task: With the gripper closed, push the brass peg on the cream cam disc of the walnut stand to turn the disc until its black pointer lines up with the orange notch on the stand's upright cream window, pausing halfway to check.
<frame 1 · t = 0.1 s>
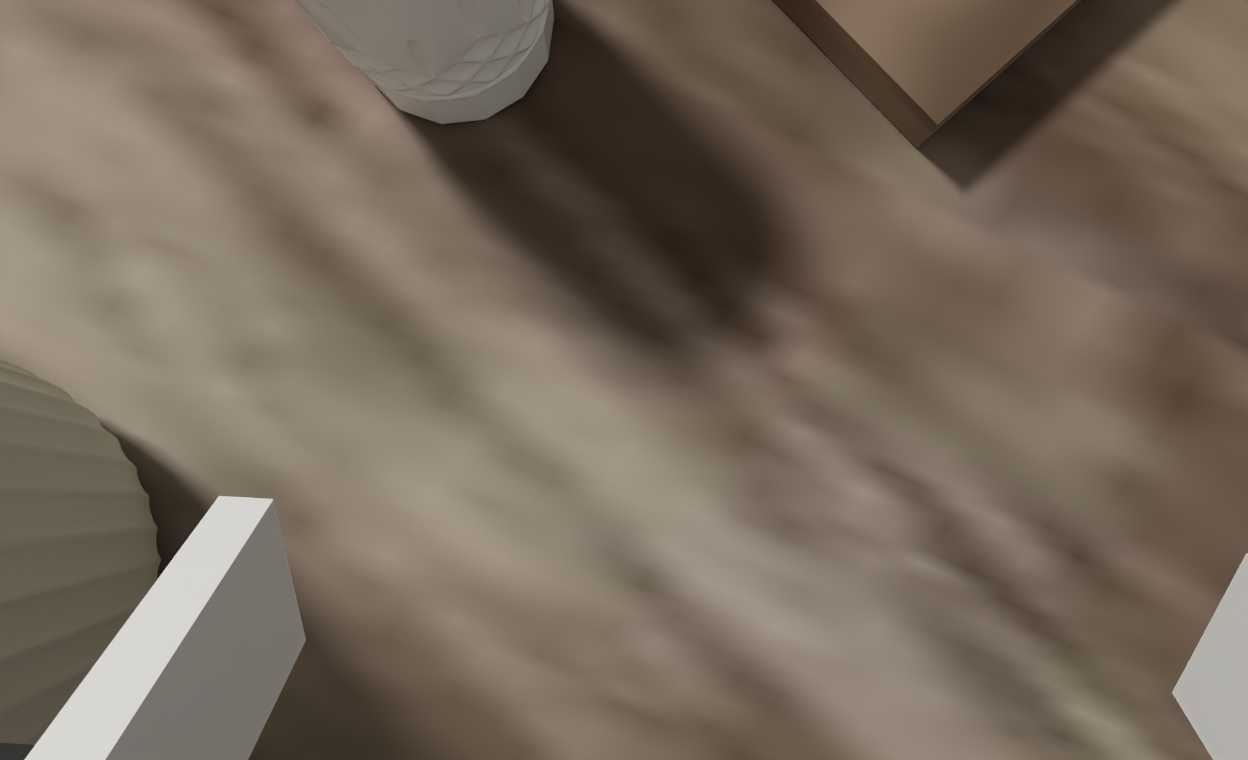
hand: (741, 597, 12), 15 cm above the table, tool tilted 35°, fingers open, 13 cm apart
white cup: (457, 34, 29), on the table
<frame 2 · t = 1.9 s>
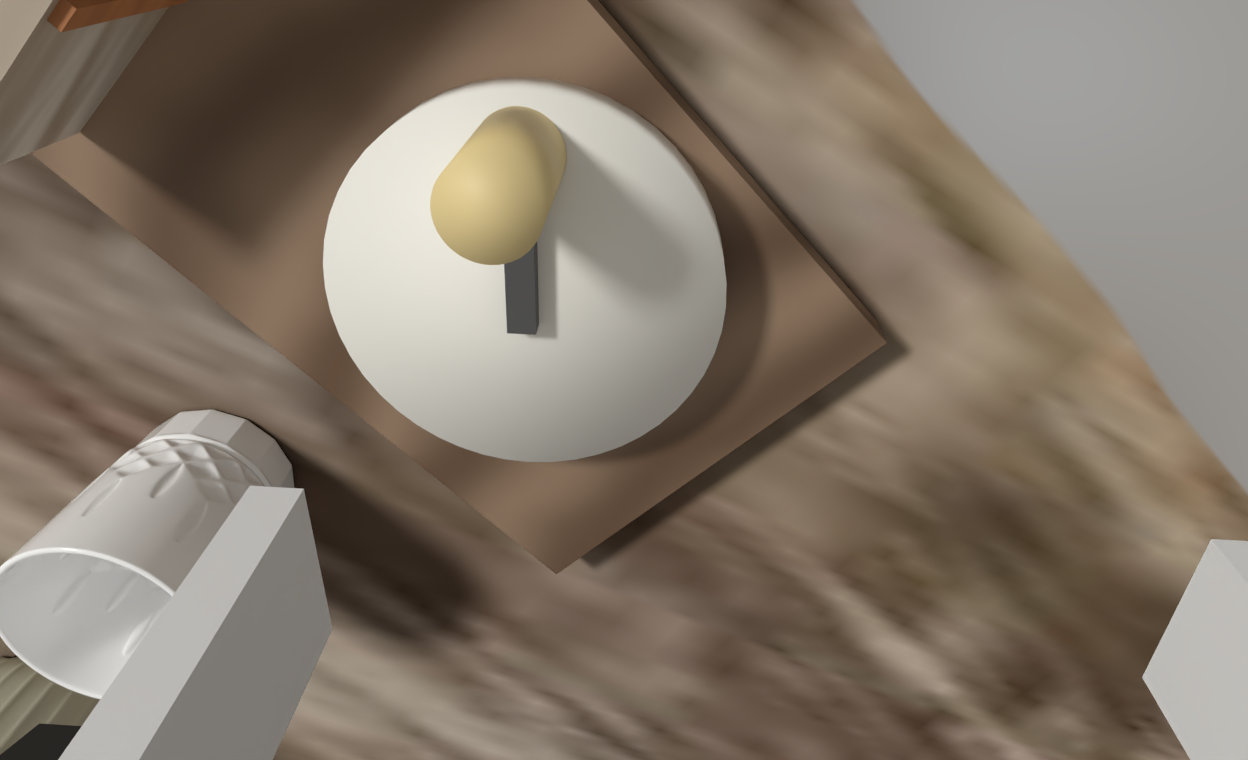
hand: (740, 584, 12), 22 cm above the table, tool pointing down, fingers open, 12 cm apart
white cup: (226, 466, 40), on the table
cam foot: (516, 320, 28), point 6 cm above the table, hinge at -45.0°
stand: (541, 287, 34), on the table
canister: (56, 717, 50), on the table
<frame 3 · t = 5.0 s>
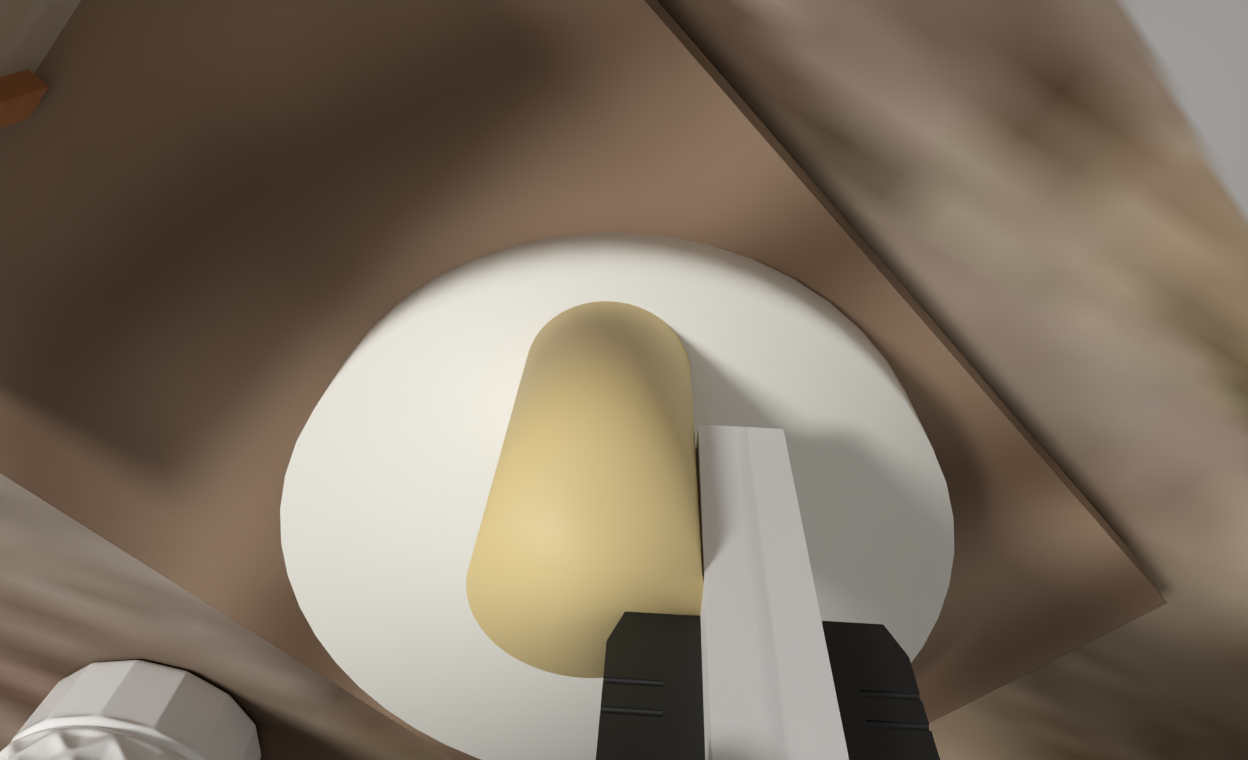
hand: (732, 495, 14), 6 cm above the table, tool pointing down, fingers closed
white cup: (162, 722, 28), on the table
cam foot: (609, 644, 16), point 6 cm above the table, hinge at -43.1°, touching gripper
stand: (622, 506, 22), on the table
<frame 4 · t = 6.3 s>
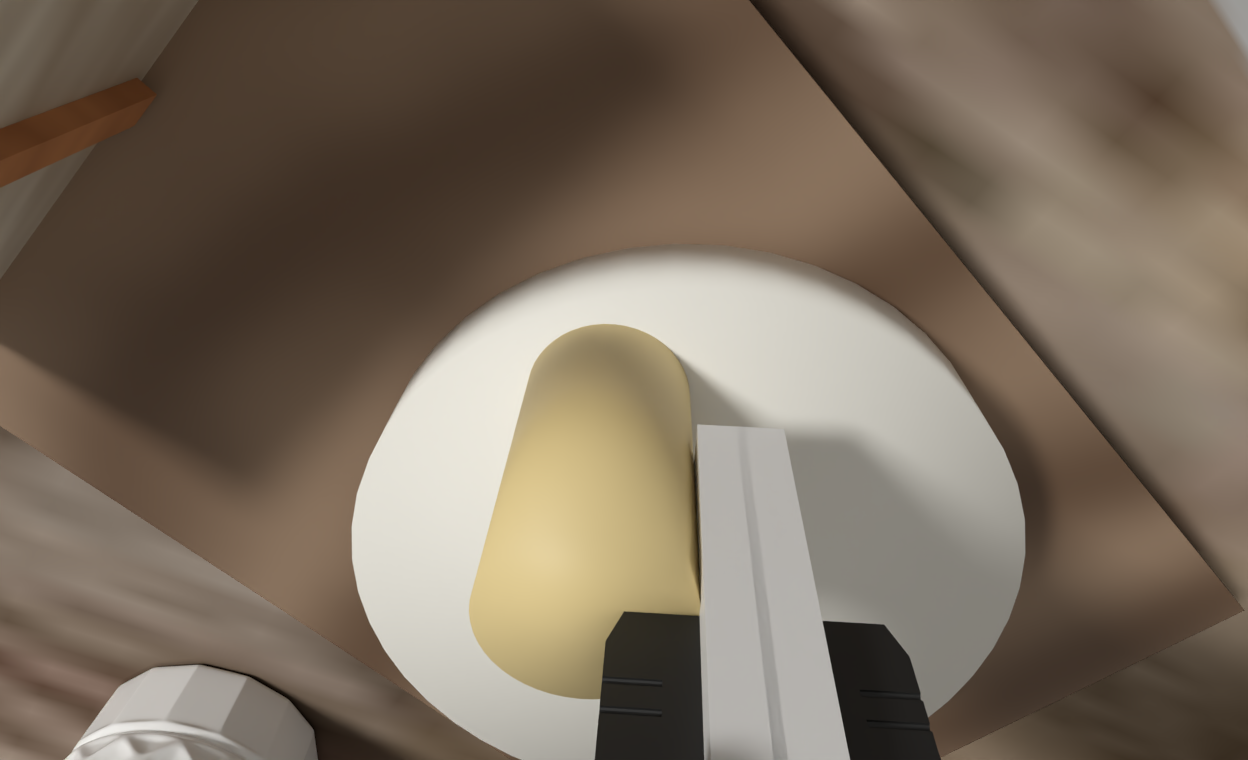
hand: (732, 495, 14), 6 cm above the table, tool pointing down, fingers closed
white cup: (219, 726, 28), on the table
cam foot: (683, 654, 16), point 6 cm above the table, hinge at -26.1°, touching gripper
stand: (693, 513, 22), on the table
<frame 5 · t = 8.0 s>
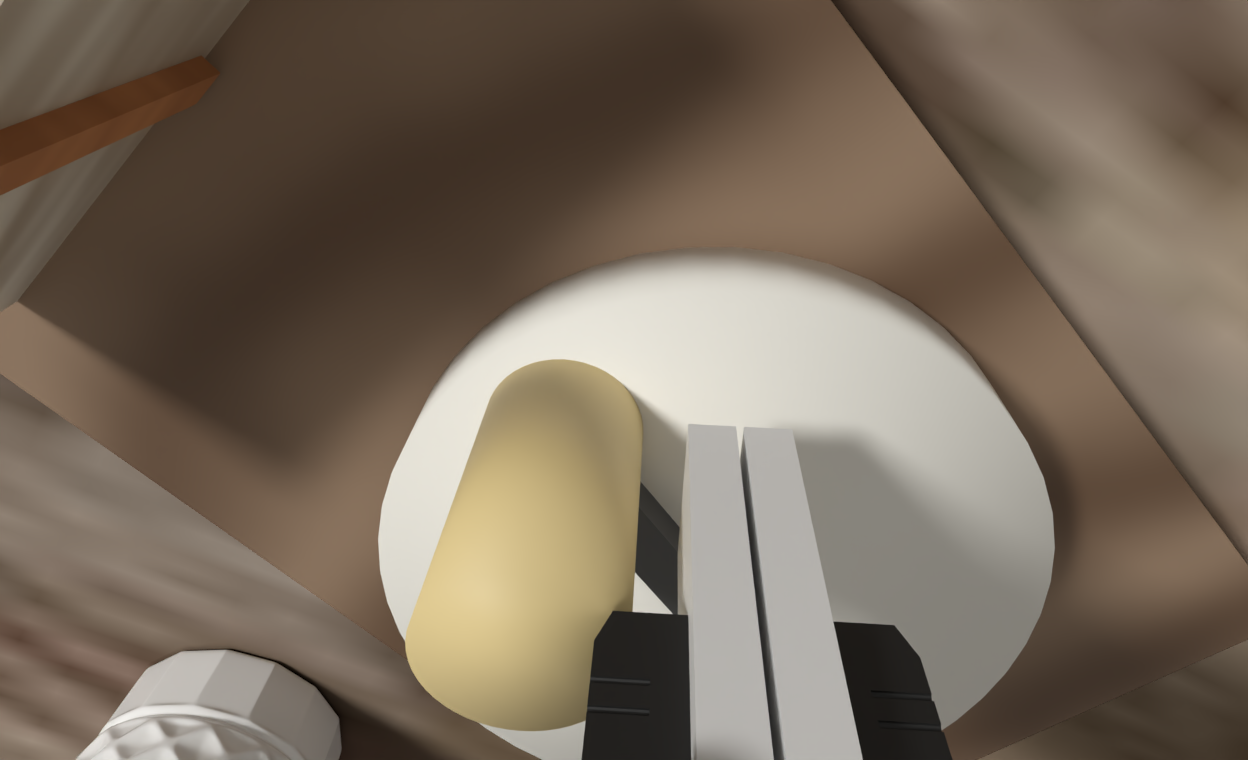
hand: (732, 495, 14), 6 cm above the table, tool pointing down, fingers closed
white cup: (244, 712, 28), on the table
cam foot: (709, 657, 16), point 6 cm above the table, hinge at -7.3°
stand: (732, 509, 22), on the table
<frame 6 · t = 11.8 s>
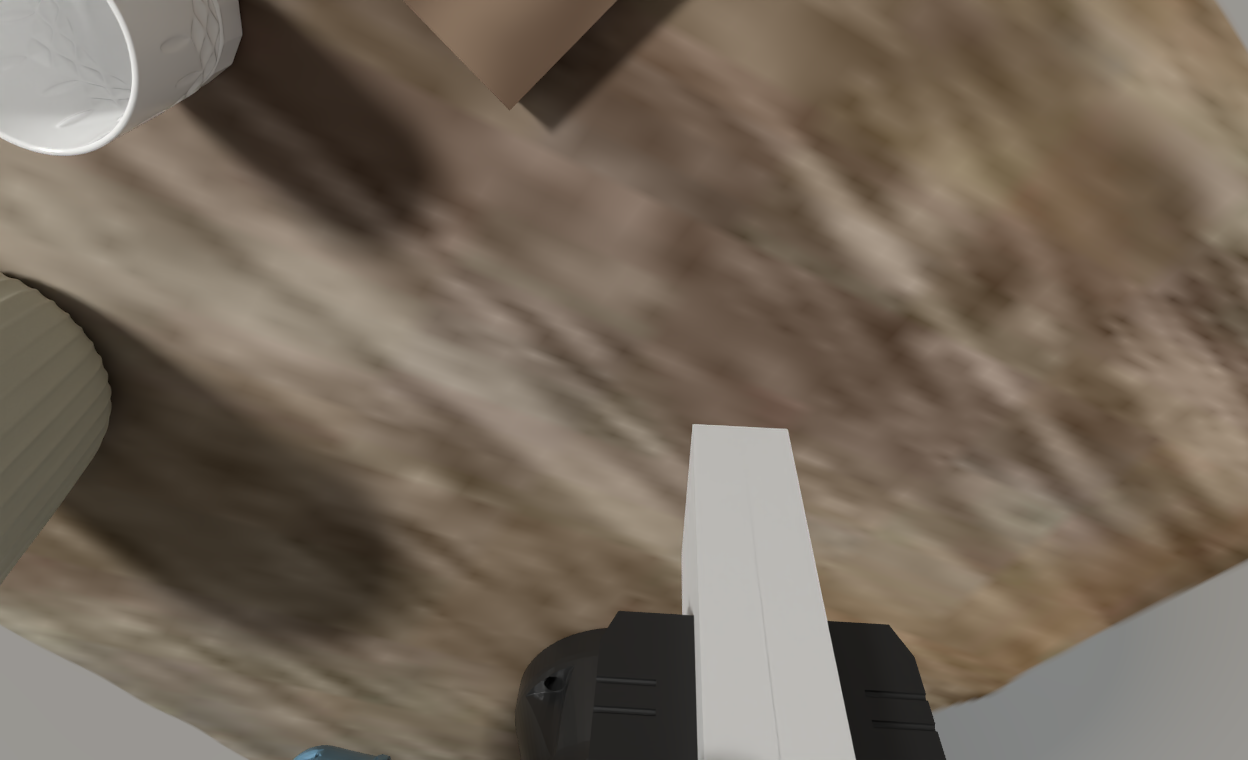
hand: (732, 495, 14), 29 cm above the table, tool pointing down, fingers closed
white cup: (171, 7, 39), on the table
canister: (12, 356, 49), on the table
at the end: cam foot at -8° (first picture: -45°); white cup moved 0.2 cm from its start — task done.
